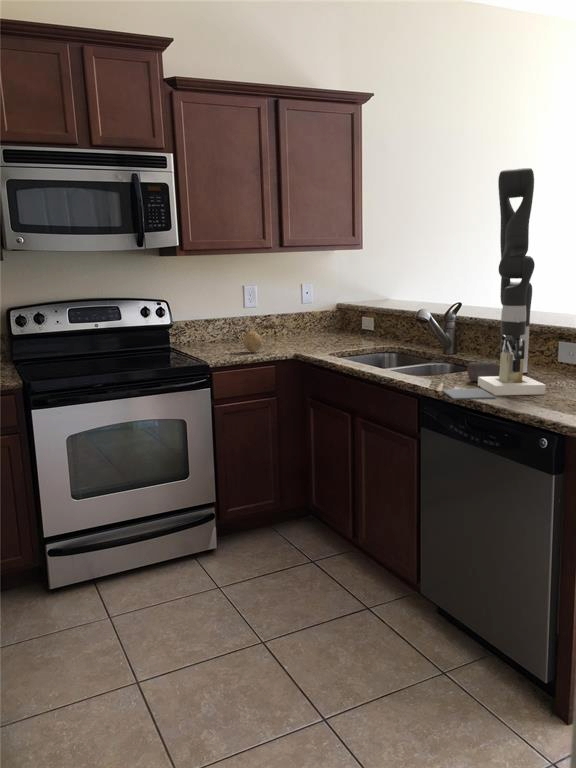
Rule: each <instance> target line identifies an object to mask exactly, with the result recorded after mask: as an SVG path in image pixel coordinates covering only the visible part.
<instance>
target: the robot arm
mask: <svg viewBox="0 0 576 768" xmlns="http://www.w3.org/2000/svg"><path fill="white" fill-rule="evenodd" d="M497 183H498V200H499V211H500V212H499V213H500V235H499V237H500V240H499V241H500V262H499V265H498V274H499V275H500V303H501V305H502V309H501V314H500V316H501V317H500V334H501V336H500V346H499V354H501V353H503V352H510V354H511V355H512V357H513V366H512V371H513V372H520V360H522V359H524V360H523V374H525V373H527V371H528V362H529V361H528V359H529V357H528V356H529V341H530V327H531V326H530V322H531V307H532V306H531V305H532V299H533V285H532V283H531V282H530V281H531V280H532V276H533V274H534V271H535V260H534V258H533V257H532V256H530V255H527V253H528V251H529V239H530V238H529V235H530V234H529V233H530V231H529V230H530V218H531V212H532V206H533V197H534V190H535V173H534V170H533V169H532V168H531V167H520V168H518V167H517V168H510V169H503V170H501V171H500V172H499V175H498V182H497ZM514 198H515V199H516V198H522V200H521V203H520V205H519V206H518V208H517V209H516V211H515V210H514V208H513V205H512V204H511V200H510V199H514ZM511 279H512V280H513V279H516V280H517V279H521V281H511Z"/></svg>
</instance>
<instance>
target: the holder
mask: <svg viewBox="0 0 576 768" xmlns="http://www.w3.org/2000/svg"><path fill="white" fill-rule="evenodd" d="M477 386H478V387H479V386H480V387H479V388H480V389H483V390H484V391H486V392H488V393H490V394H491V395H493V396H519V395H520V396H521V395H527V396H528V395H530V396H531V395H546V386H547V385H546V384H544V383H542V382H540V381H538V380H536V379H534V378H531V377H528V376H526V375H522V383H502V382H500V381H499V376H488V377H478V381H477Z"/></svg>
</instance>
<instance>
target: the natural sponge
mask: <svg viewBox="0 0 576 768" xmlns="http://www.w3.org/2000/svg"><path fill="white" fill-rule="evenodd" d="M242 345H243V346H244V348H245V349H246V350H247V351H248V352H250V353H252V354H253V353H257V352H258V351H259V350H261V349H262V348H263V346H264V342H263V339H262V337H261V336H260V334H259V333H258V332H256V331H253V330H250V331H248V332H247V333H245V335H244V336H243V338H242Z"/></svg>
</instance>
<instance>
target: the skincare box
mask: <svg viewBox="0 0 576 768" xmlns="http://www.w3.org/2000/svg"><path fill="white" fill-rule="evenodd" d="M523 360H524V359H522V360H520V372H513V371H512V366H513V357H512V355H511V354H510V352H503V353H500V360H499V361H500V362H499V365H500V372H499V381H500V382H502V383H522V376H524V373H523Z"/></svg>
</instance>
